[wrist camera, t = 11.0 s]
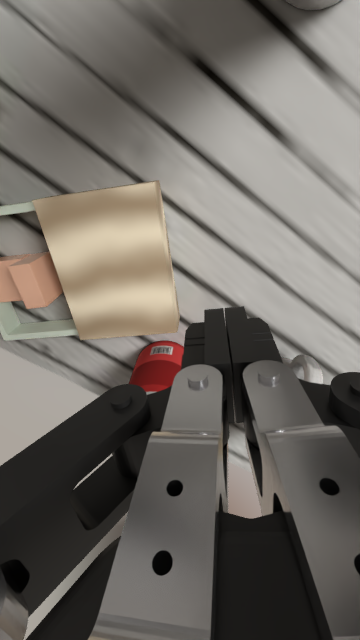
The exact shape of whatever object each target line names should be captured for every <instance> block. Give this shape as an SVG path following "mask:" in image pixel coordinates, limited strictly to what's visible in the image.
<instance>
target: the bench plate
mask: <svg viewBox="0 0 360 640" xmlns="http://www.w3.org/2000/svg"><path fill="white" fill-rule="evenodd" d="M32 202H33V205H34V208H35V210H36V213H37V216H38V219H39V222H40V225H41V228H42V231H43V233H44V236H45V239H46V242H47V245H48V248H49V251H50V254H51V256H52V259H53V262H54V265H55V268H56V271H57V274H58V277H59V280H60V282H61V285H62V288H63V291H64V294H65V297H66V300H67V303H68V305H69V308H70V311H71V314H72V317H73V320H74V323H75V326H76V328H77V331H78V334H79V337H80V340H87V339H99V338H112V337H125V336H137V335H150V334H162V333H175V332H177V331H178V325H179V318H180V315H179V308H178V301H177V295H176V288H175V282H174V275H173V269H172V262H171V256H170V249H169V242H168V236H167V229H166V223H165V216H164V210H163V203H162V196H161V190H160V183H159V180H158V181H151V182H144V183H137V184H131V185H124V186H117V187H111V188H104V189H97V190H90V191H84V192H77V193H70V194H64V195H57V196H51V197H46V198H41V199H36V200H32Z"/></svg>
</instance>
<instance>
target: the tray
mask: <svg viewBox="0 0 360 640" xmlns="http://www.w3.org/2000/svg"><path fill="white" fill-rule="evenodd" d="M29 211H36V210H35V208H34V205H33V202H32V201H30V202H24V203H17V204H10V205H3V206H0V216H1V215H8V214H15V213H22V212H29ZM0 333H1V335H2V337H3V339H4V341H8V340H21V339H33V338H45V337H57V336H69V335H79V334H78V331H77V328H76V326H75V323H74V320H73V319H68V320H57V321H46V322H35V323H24V324H21V323H20V321H19V319H18V317H17V314H16V312H15V310H14V308H13V305H12V303H11V301H10V302H0Z"/></svg>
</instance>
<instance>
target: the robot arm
mask: <svg viewBox="0 0 360 640" xmlns="http://www.w3.org/2000/svg"><path fill="white" fill-rule="evenodd" d="M285 1H286V2H288V3H290V4H291V5H293V6H295V7H297V8H301V9H305V10H318V9H323V8H326V7H329V6H332V5H334V4H336V3H338V2H339V1H341V0H285ZM225 321H226V326H225ZM232 391H233V394H232ZM233 399H234V407H235V414H236V422H237V423H241V422H244V428H245V441H246V448H247V452H248V457H249V461H250V465H251V469H252V473H253V477H254V482H255V486H256V490H257V494H258V498H259V503H260V507H261V513H262V517H258V518H254V519H248V518H244V517H240V516H236V515H233V514H229V513H228V439H229V423H234V409H233ZM111 453H112V455H113V456H112V457H110V458H109V459H108V460H107V461H106V462H105V463H104V464H102V465H101V466H100V467H99V468H98V469H97V470H96V471H94V472H93V473H92V474H91V475H90V476H89V477H88V478H86V479H85V480H84V481H83V482H82V483H81V484H80V485H79V486H77V488H75V486H76V485H77V484H78V482H79V481H81V480H82V479H83V478H84V477H85V476H86V475H87V474H89V473H90V472H91V471H92V470H93V469H94V468H96V467H97V466H98V465H99V464H100V463H101V462H102V461H104V460H105V459H106V458H107V457H108V456H109V455H110V454H111ZM74 488H75V489H74ZM73 489H74V490H73ZM127 512H128V514H127V517H126V521H125V524H124V528H123V531H122V535H121V536H120V537H119V538H117V539H116V540H115V541H113V542H112V543H111V544H110V545H109V546H108V547H107V548H105V549H104V551H102V552H101V553H100V554H99V555H98V557H97V558H96V559H95V560H94V561H93V562H92V563H91V564H90V566H89V567H88V568H87V569H86V570H85V571H84V573H83V574H82V575H81V576H80V578H78V580H77V581H76V582H75V583H74V584H73V585H72V586H71V588H70V589H69V590H68V591H67V592H66V593H65V595H64V596H63V597H62V598H61V599H60V600H59V602H58V603H57V604H56V605H55V606H54V607H53V609H52V610H51V611H50V612H49V613H48V614H47V615H46V617H45V618H44V619H43V620H42V621H41V622H40V624H39V625H38V626H37V627H36V628H35V630H34V631H33V632H32V633H31V634H30V635H29V636H28V638H27V639H26V640H360V373H359V372H347V373H342V374H339V375H337V376H336V377H334V378H333V380H332V381H331V385H325V384H318V383H313V382H308V381H304V380H302V379H299V378H297V376H296V375H295V373H294V371H293V370H292V369H291V368H290V367H288V366H287V365H285V364H283V361H282V359H281V356H280V354H279V351H278V349H277V346H276V344H275V341H274V340H273V336H272V334H271V331H270V329H269V326H268V324H267V323H266V322H264V321H263V320H262V319H260V318H249V319H247V316H246V312H245V309H244V306H242V307H231V308H225V318H224V311H223V308H220V309H209V310H205V322H202V323H192V324H191V325H190V326H189V327H188V329H187V330H186V334H185V343H184V352H183V361H182V370H181V371H179V372H178V373H177V374H176V376H175V378H174V381H173V385H172V386H170V387H168V388H166V389H164V390H161V391H158V392H155V393H151V394H148V395H147V394H146V391H145V390H144V389H143V388H142V387H140V386H138V385H134V384H125V385H120V386H117V387H114V388H112V389H110V390H108V391H107V392H105V393H104V394H103V395H101V396H100V397H98V398H97V399H95V400H94V401H93V402H91V403H90V404H88V405H87V406H85V407H84V408H83V409H81V410H80V411H78V412H77V413H75V414H74V415H73V416H71V417H70V418H68V419H67V420H66V421H64V422H63V423H61V424H60V425H58V426H57V427H55V428H54V429H53V430H51V431H50V432H48V433H47V434H46V435H44V436H43V437H41V438H40V439H38V440H37V441H35V442H34V443H33V444H31V445H30V446H28V447H27V448H26V449H24V450H23V451H21V452H20V453H18V454H17V455H16V456H14V457H13V458H11V459H10V460H8V461H7V462H5V463H4V464H3V465H1V466H0V640H23V639H24V636H25V633H26V629H27V623H28V617H29V616H30V615H31V614H32V613H33V612H34V611H35V610H36V609H37V608H38V606H40V605H41V603H42V602H43V601H44V600H45V599H46V598H47V597H48V596H49V595H50V594H51V593H52V592H53V591H54V589H56V587H57V586H58V585H59V584H60V583H61V582H62V581H63V580H64V579H65V578H66V577H67V575H69V574H70V572H71V571H72V570H73V569H74V568H75V567H76V566H77V565H78V564H79V563H80V562H81V561H82V559H84V557H85V556H86V555H87V554H88V553H89V552H90V551H91V550H92V549H93V548H94V547H95V546H96V545H97V544H98V542H100V540H101V539H102V538H103V537H104V536H105V535H106V534H107V533H108V532H109V531H110V530H111V529H112V528H113V527H114V525H115V524H116V523H117V522H118V521H119V520H120V519H121V518H122V517H123V516H124V515H125V514H126V513H127Z"/></svg>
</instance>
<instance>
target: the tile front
mask: <svg viewBox="0 0 360 640" xmlns="http://www.w3.org/2000/svg"><path fill="white" fill-rule="evenodd" d="M8 268H9V270H10V273H11V275H12V277H13V279H14V282H15V284H16V286H17V288H18V290H19V293H20V295H21V297H22V299H23V302H24V304H25V306H26V308H27V309H31V308H39V307H47V306H48V305H49V304H50V303H52V302H53V301H54V300H55V299H56V298H57V297H58V296H59V295H61V294H62V293H63V292H64V291H63V288H62V285H61V282H60V280H59V277H58V274H57V271H56V268H55V265H54V262H53V259H52V256H51V254H50V251H49V252H42V253H36V254H31V255H30V256H28V257H26V258H24V259H22V260H20V261H18V262H16V263H14V264H12V265H10V266H8Z"/></svg>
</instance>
